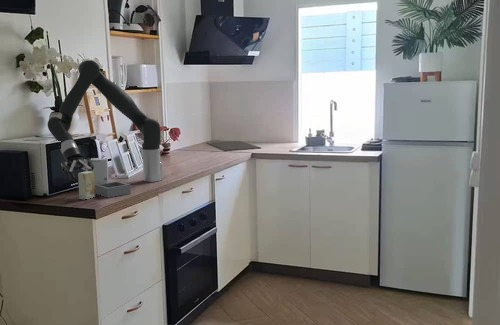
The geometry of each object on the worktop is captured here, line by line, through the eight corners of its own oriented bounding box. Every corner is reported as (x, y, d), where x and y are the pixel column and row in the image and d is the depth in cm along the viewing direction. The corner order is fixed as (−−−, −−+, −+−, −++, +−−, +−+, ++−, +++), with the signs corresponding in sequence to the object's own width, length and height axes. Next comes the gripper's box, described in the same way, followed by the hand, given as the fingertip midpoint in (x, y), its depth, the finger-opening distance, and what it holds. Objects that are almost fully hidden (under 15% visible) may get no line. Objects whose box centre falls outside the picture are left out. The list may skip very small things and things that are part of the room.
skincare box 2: (91, 189, 251) (89, 159, 249) (92, 186, 257) (90, 157, 255) (108, 188, 253) (106, 159, 251) (109, 185, 259) (107, 157, 256)
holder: (117, 190, 248) (117, 181, 247) (130, 193, 239) (130, 184, 238) (95, 194, 239) (94, 185, 239) (108, 198, 231) (107, 188, 230)
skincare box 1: (86, 200, 228) (84, 173, 226) (79, 199, 229) (77, 173, 227) (95, 197, 233) (94, 171, 232) (88, 196, 235) (86, 170, 233)
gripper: (57, 148, 231) (70, 175, 224) (86, 145, 241) (100, 171, 234) (53, 158, 235) (66, 185, 229) (82, 155, 245) (95, 181, 239)
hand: (83, 178), depth 232 cm, fingers open, 8 cm apart
